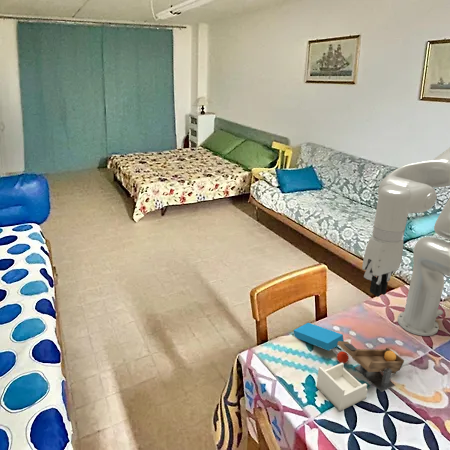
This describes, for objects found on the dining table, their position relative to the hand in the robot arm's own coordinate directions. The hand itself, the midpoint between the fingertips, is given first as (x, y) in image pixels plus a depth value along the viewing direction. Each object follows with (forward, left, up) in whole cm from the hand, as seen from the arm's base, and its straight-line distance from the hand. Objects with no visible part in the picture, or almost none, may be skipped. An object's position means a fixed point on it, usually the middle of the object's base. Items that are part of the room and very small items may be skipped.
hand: (377, 292), depth 110 cm
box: (+16, +7, -23) cm, 29 cm away
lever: (+8, -10, -24) cm, 27 cm away
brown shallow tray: (+4, +3, -20) cm, 20 cm away
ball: (-2, +7, -18) cm, 19 cm away
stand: (+4, +7, -23) cm, 24 cm away
